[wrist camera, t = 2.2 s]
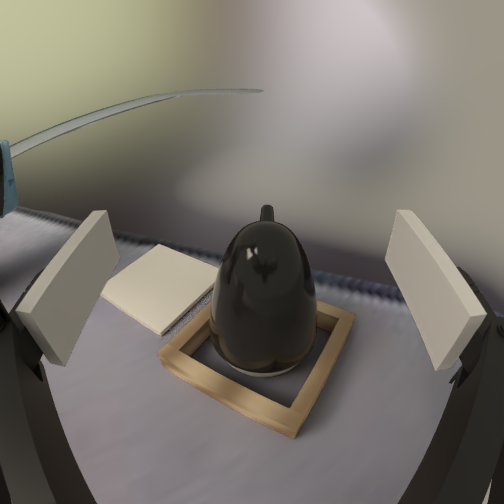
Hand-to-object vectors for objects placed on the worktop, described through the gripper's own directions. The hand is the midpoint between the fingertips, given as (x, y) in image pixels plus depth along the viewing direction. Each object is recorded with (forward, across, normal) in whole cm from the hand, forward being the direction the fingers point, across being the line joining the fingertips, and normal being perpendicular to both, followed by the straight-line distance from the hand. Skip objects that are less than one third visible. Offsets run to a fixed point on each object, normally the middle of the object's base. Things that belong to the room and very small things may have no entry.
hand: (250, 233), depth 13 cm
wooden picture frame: (+8, +1, -19) cm, 21 cm away
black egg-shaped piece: (+8, +1, -20) cm, 21 cm away
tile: (+19, -13, -19) cm, 30 cm away
